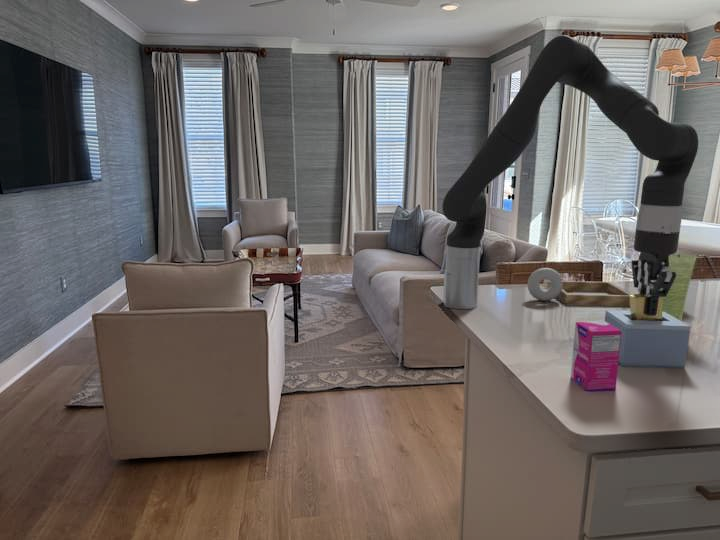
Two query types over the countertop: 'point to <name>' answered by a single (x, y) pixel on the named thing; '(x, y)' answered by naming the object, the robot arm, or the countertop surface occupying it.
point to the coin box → (650, 340)
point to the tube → (678, 284)
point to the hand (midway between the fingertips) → (646, 312)
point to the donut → (551, 291)
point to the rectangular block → (642, 308)
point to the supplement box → (596, 355)
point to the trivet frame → (617, 297)
